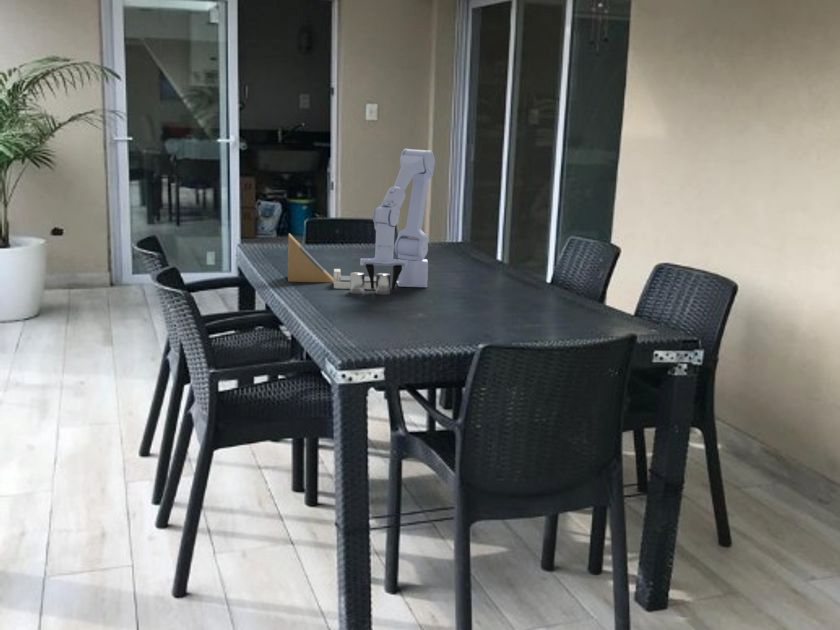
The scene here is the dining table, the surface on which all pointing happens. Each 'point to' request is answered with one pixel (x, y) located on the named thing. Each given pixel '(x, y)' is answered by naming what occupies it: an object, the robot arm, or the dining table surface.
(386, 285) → the steel weight
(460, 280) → the dining table surface
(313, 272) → the sandwich container
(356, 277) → the cylinder
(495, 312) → the dining table surface
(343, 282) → the grey boxy piece
